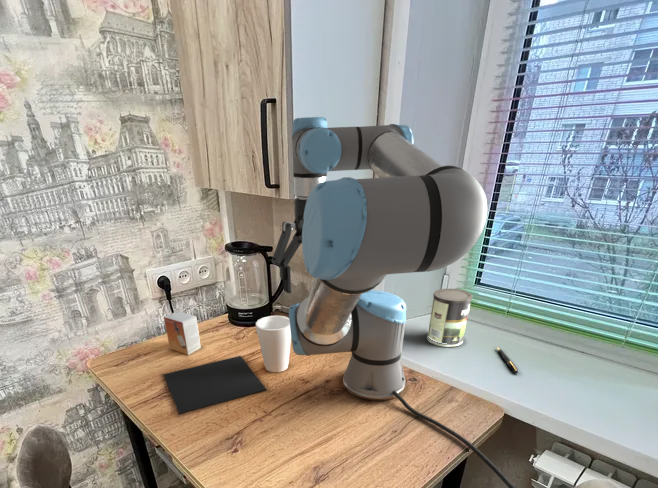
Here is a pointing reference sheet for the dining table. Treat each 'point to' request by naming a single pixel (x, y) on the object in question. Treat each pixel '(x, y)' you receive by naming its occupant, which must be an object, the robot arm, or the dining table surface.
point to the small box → (182, 332)
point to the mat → (212, 384)
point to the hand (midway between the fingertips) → (310, 287)
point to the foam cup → (274, 342)
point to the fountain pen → (508, 361)
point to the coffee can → (449, 317)
